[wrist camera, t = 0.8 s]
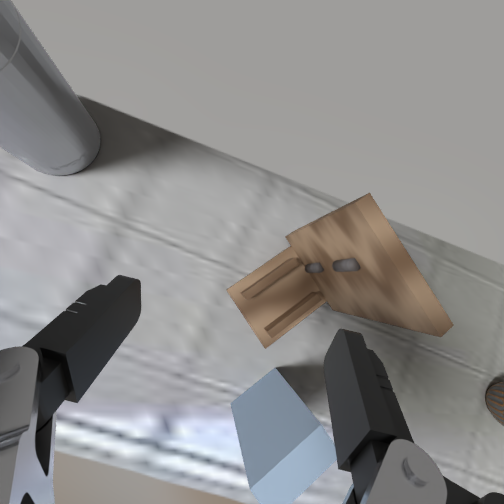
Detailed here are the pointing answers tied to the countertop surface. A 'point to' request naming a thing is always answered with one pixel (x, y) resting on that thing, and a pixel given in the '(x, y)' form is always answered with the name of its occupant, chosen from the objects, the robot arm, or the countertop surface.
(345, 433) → the robot arm
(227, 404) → the countertop surface
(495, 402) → the vase
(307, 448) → the light blue rectangular block
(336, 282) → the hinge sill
